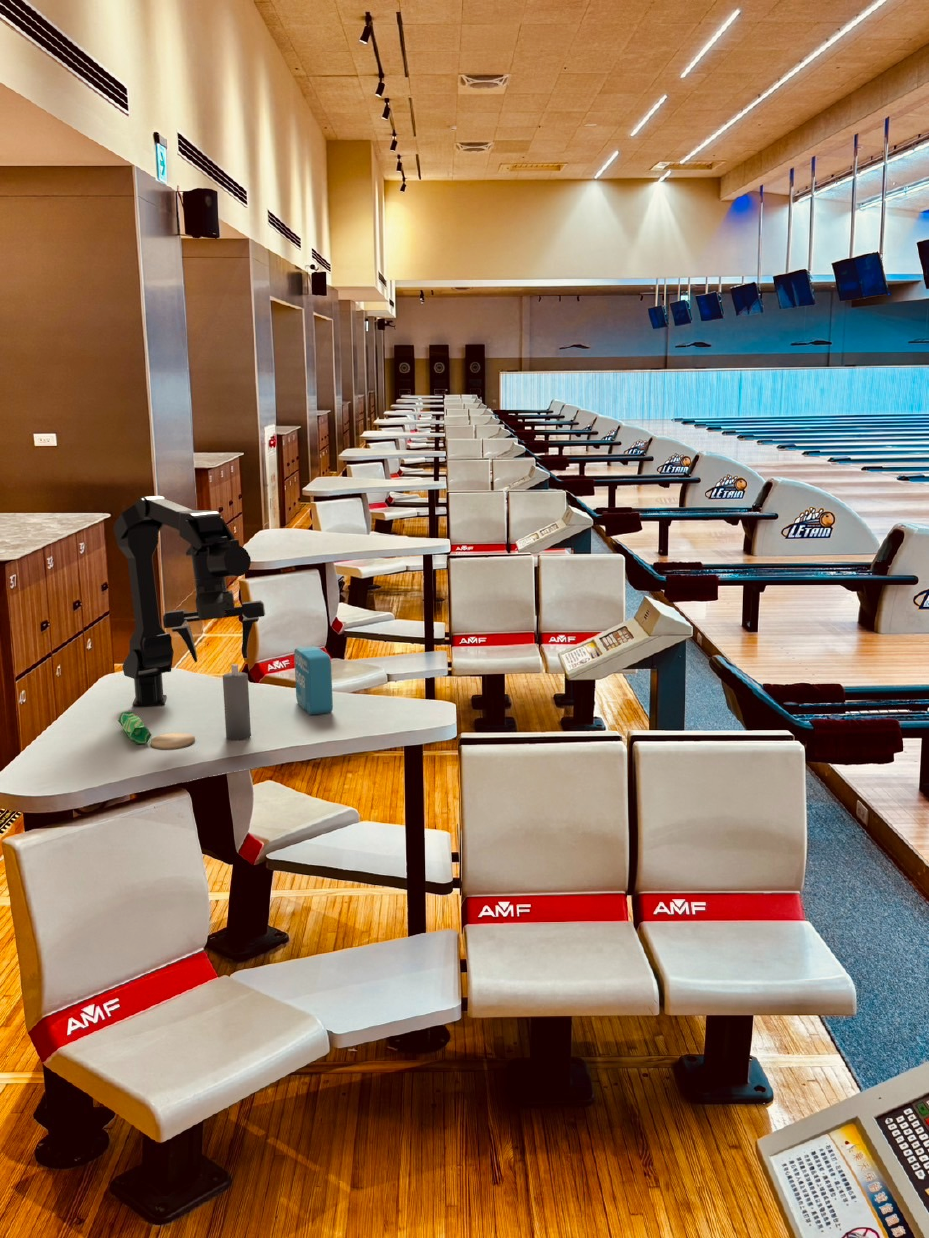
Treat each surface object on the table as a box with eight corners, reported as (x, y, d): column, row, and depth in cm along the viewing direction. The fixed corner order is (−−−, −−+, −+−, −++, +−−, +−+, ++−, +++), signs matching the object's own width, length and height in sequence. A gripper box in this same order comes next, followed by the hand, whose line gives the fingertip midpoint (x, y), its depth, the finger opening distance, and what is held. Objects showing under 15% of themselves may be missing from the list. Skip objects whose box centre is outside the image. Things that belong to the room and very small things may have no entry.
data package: (296, 702, 238) (293, 646, 235) (317, 699, 239) (314, 644, 237) (311, 716, 227) (309, 658, 224) (333, 714, 229) (331, 656, 226)
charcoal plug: (221, 736, 214) (217, 664, 212) (242, 731, 217) (238, 660, 215) (234, 741, 211) (230, 668, 208) (255, 736, 214) (251, 664, 211)
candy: (115, 725, 219) (125, 706, 220) (131, 732, 221) (140, 713, 221) (127, 742, 209) (137, 722, 209) (144, 749, 210) (154, 729, 211)
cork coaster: (152, 737, 214) (152, 734, 214) (196, 734, 216) (196, 731, 216) (148, 750, 207) (148, 747, 207) (193, 747, 208) (193, 744, 208)
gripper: (154, 586, 206) (165, 670, 208) (257, 574, 209) (268, 657, 210) (161, 582, 217) (172, 663, 219) (259, 571, 220) (270, 650, 221)
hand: (220, 658), depth 217 cm, fingers open, 9 cm apart
